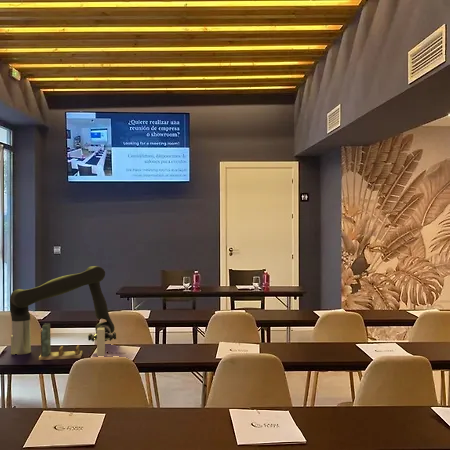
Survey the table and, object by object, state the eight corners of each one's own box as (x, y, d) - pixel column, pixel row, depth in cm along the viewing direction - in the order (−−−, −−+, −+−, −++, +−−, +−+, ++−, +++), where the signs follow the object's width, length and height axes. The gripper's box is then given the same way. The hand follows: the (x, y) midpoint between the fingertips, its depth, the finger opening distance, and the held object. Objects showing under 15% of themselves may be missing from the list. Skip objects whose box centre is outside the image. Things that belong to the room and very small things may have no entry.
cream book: (97, 358, 277) (96, 329, 277) (98, 355, 283) (97, 327, 283) (104, 357, 278) (104, 329, 278) (105, 355, 284) (104, 327, 284)
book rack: (38, 360, 275) (38, 326, 275) (42, 355, 285) (41, 323, 285) (80, 357, 278) (80, 324, 278) (82, 353, 288) (81, 321, 288)
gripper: (89, 327, 301) (87, 332, 285) (116, 325, 303) (115, 331, 287) (89, 341, 301) (87, 347, 285) (116, 339, 303) (116, 345, 287)
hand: (101, 339), depth 286 cm, fingers open, 8 cm apart
